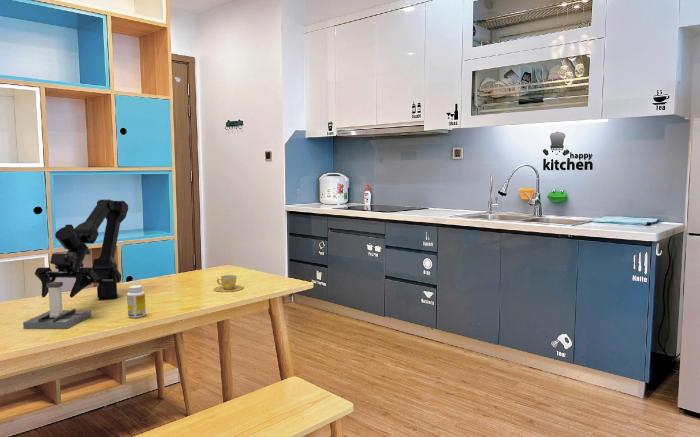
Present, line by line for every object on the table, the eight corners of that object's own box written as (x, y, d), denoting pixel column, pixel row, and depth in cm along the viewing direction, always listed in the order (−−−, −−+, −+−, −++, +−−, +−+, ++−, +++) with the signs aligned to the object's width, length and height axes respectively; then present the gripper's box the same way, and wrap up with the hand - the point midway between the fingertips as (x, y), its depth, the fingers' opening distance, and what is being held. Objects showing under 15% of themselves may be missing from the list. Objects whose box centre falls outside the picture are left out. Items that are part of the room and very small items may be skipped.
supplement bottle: (147, 313, 176) (146, 284, 175) (143, 318, 171) (141, 288, 170) (131, 314, 176) (129, 284, 175) (125, 318, 170) (124, 288, 169)
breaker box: (51, 315, 174) (50, 307, 174) (91, 316, 173) (91, 307, 173) (23, 328, 160) (22, 319, 160) (67, 328, 159) (66, 319, 159)
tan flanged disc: (247, 286, 218) (246, 273, 217) (238, 293, 206) (237, 279, 205) (219, 285, 219) (219, 273, 218) (209, 292, 207) (208, 279, 207)
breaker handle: (54, 314, 167) (51, 281, 166) (64, 314, 167) (62, 281, 166) (48, 317, 164) (46, 284, 163) (59, 317, 164) (57, 284, 163)
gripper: (36, 243, 170) (15, 283, 160) (91, 243, 169) (74, 283, 159) (52, 262, 178) (33, 301, 168) (104, 262, 178) (89, 301, 168)
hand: (56, 296), depth 166 cm, fingers open, 9 cm apart
